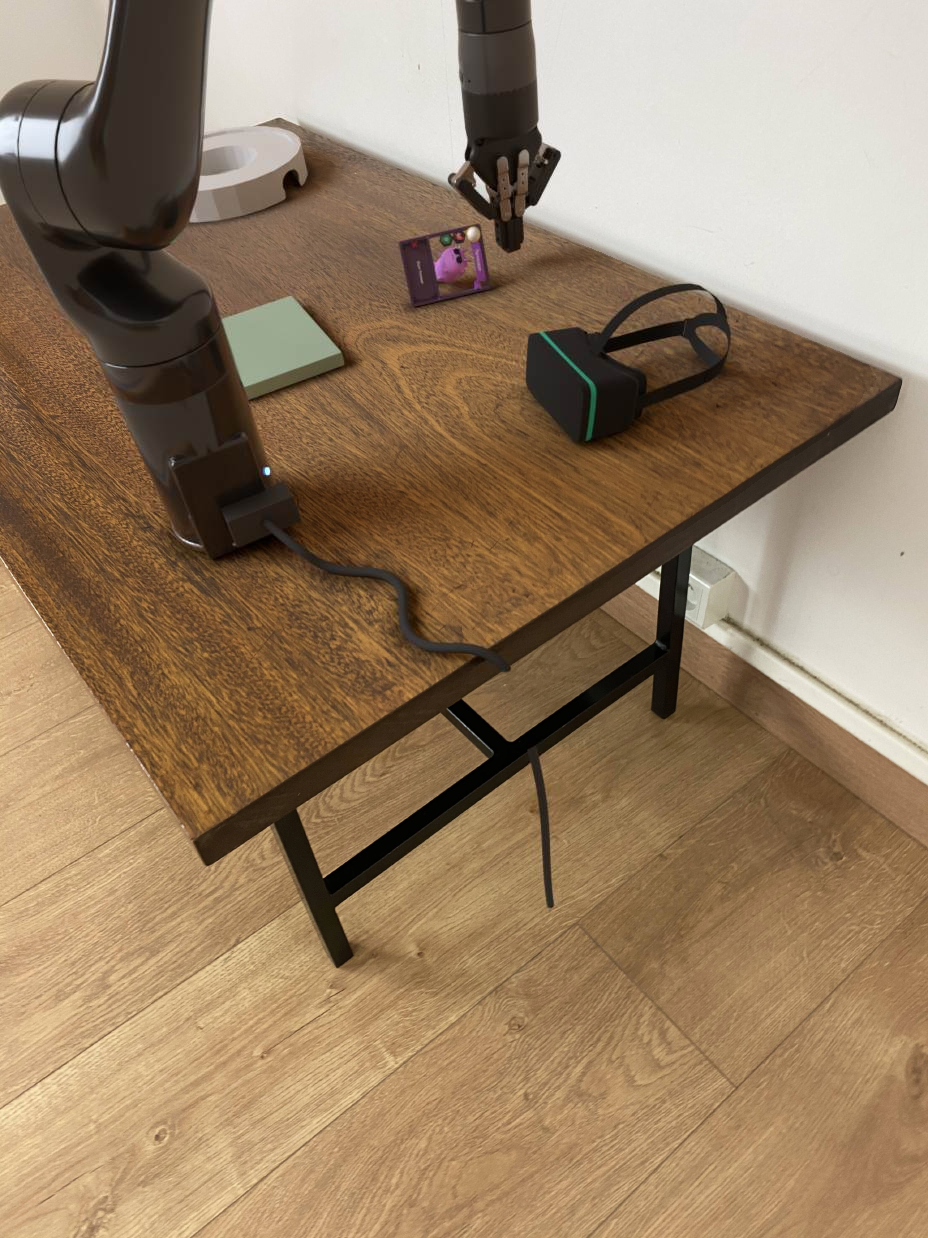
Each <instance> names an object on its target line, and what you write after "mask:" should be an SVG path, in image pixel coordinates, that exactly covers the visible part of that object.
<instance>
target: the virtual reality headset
mask: <svg viewBox="0 0 928 1238" xmlns="http://www.w3.org/2000/svg"><path fill="white" fill-rule="evenodd" d="M687 291H701V292H706V293H709V295H710V296H711V297H712V298H713V300H714V302H715V306H716V312H709V311H708V312H702V313H701V312H700V313H699V314H696V315H695V316H694V317H685V318H684V319H683V320H676V321H670V322H665V323H662V324H658V325H654V326H653V325H652V326H650V327H646V328H642V329H639V330H634V331H631V332H627V333H624V334H621V335H617V336H613V335H614V333H615V332H616V331H617V330H618V328H619V327H620V326H621V325H622V324H623V323H624V322H625V321H626V320H627V319H628V318H629V317H630V316H631V315H632V314H633V313H636V312H637V311H638V310H639V309H641V308H642V307H644V306H646V305H648V304H649V303H651V302H653V301H656V300H659V299H661V298H664V297H666V296H668V295H672V294H676V293H681V292H687ZM701 327H716V328H718V329H719V330H720V331H722V332H723V333H724V334H725V336H726V339H727V350H726V352H725V354H724V356H723V357H721V356H720V355H718V354H717V353H715V352H714V351H713V350H712V349H711V348H710V347H709V346H708V345H707V344H706V343H705V342H704V341H703V340H702V339H701V337H699V336H698V334H697V331H696V330H697V329H698V328H701ZM731 333H732V331H731V328H730V323H729V322H728V316H727V313H726V309H725V306H724V305H723V303H722V301H721V300H720V299H719V298H718V296H716V295H714V294H713V293H712V292H711V291H709V290H708V289H706V288H705V287H703V286H701V284H696V283H695V284H694V283H689V282H688V283H678V284H672V285H671V284H670V285H666V286H663V287H662V286H661V287H659V288H656V289H654V290H651V291H649V292H647V293H644V294H642V295H640V296H638V297H637V298H634V299H633V300H631V301H630V302H628V303H627V304H626V305H625V306H624V307H622V308H621V309H620V310H619V311H618V312H617V313H616V314H615V315H614V316H613V317H612V318H611V319H610V320H609V322H608V323H607V324H606V325H605V327H604V328H603V329H602V330H601V332H600V331H594V333H588V331H586V330H585V329H583V328H581V327H579V326H574V327H567V328H560V329H553V330H547V331H540V332H539V331H538V332H531V333H530V334H529V335H528V339H527V348H526V361H525V384H526V389H527V390H528V391H529V393H530V394H531V395H532V396H533V397H534V398H535V399H536V401H537V402H538V403H539V404H540V406H541V407H543V409H544V410H545V411H546V412H547V414H549V416H550V417H551V419H553V420H554V422H555V423H556V424H557V425H558V426H559V428H561V429H562V431H563V432H564V433H565V434H566V435H567V437H569V439H570V440H572V442H573V443H574V444H580V443H584V442H587V441H591V440H595V439H598V438H603V437H605V436H609V435H613V434H617V433H620V432H624V431H627V430H629V429H630V428H631V426H632V423H633V421H635V420H637V419H639V418H641V416H642V415H643V410H644V409H646V408H649V407H651V406H654V405H657V404H659V403H662V402H664V401H667V400H670V399H672V398H675V397H678V396H680V395H682V394H685V393H688V392H691V391H694V390H696V389H697V388H700V387H702V386H703V385H705V384H708V383H710V382H711V381H712V380H713V379H715V378H716V377H717V376H718V375H720V373H721V372H722V371H723V370H724V366H725V364H726V362H727V359H728V356H729V353H730V347H731V339H732V338H731V337H732V334H731ZM674 337H682V338H683V339H685V340H688V341H689V344H690V346H691V348H692V350H694V352H695V354H696V355H697V356H698V358H699V359H700V360H701V361H702V362H703V363H704V364H705V365H706V366H708V368H706V370H703V371H701V372H698V373H695V374H693V375H690V376H687V377H684V378H681V379H679V380H676V381H673V382H671V383H668V384H665V385H663V386H661V387H658V388H655V389H653V390H650V391H647V388H648V387H647V386H648V376H647V375H646V374H645V373H644V372H643V371H642V370H640V369H637V368H634V367H632V366H630V365H627V364H624V363H623V362H620V361H618V360H617V359H615V358H613V357H611V356H610V355H609V353H614V352H617V351H621V350H625V349H628V348H632V347H635V346H639V345H643V344H646V343H652V342H655V341H656V342H657V341H660V340H665V339H669V338H674Z"/></svg>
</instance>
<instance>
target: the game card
mask: <svg viewBox="0 0 928 1238" xmlns="http://www.w3.org/2000/svg"><path fill="white" fill-rule="evenodd" d="M465 231H466V233H465ZM438 237H439V241H438V242H439V243H440V245H441V246H442V247H443V248H445V247H448V248H447V249H446V250H444V251H443V252H441V253H438V254H437V256H439V258H438V260H437V261H434V258H433V252H432V248H431V247H432V246H431V242H430V239H435V238H438ZM466 239H467V241H468V242H469V244H470V248H471V251H472V256H473V261H474V268H475V274H476V280H474V287H473V288H469V289H466V290H461V291H456V292H452V293H448V294H445V295H441V293H440V289H439V283H438V282H442V283H453V282H455V281H458V280H460V278H462V277H463V276H464V274H465V273H466V271H467V270H468V268H467V266H468V263H473V261H472V259H467V257H466V255H465V253H466V252H468V251H469V248H462V249H461V247H462V245H459V244H463V243H465V240H466ZM453 242H454V243H455V244H456V245H455V246H454V247H450V246H452V243H453ZM457 245H459V246H458V247H457ZM398 248H399V252H400V258H401V262H402V269H403V272H404V276H405V282H406V286H407V291H408V296H409V302H410V305H411V307H414V308H415V307H420V306H423V305H427V304H432V303H436V302H440V301H441V302H442V301H445V300H449V299H453V298H457V297H461V296H465V295H466V296H467V295H470V294H474V293H478V292H483V291H488V290H491V288H492V284H491V280H490V279H491V278H490V274H489V272H490V271H489V266H488V262H487V255H486V249H485V244H484V238H483V232H482V225H481V223H473V224H470V225H465V226H460V227H456V228H452V229H447V230H443V231H439V232H433V233H429V234H425V235H421V236H417V237H416V236H415V237H412V238H408V239H403V240H400V241H398ZM483 281H484V282H485V285H482V282H483Z"/></svg>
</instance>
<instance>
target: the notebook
mask: <svg viewBox="0 0 928 1238" xmlns="http://www.w3.org/2000/svg"><path fill="white" fill-rule="evenodd" d="M222 321H223V324H224V327H225V330H226V333H227V336H228V339H229V342H230V345H231V348H232V351H233V355H234V358H235V361H236V364H237V367H238V370H239V373H240V376H241V379H242V382H243V385H244V388H245V391H246V394H247V397H248V400H249V401H250V400H253V399H256V398H258V397H261V396H264V395H267V394H269V393H272V392H275V391H277V390H280V389H283V388H285V387H288V386H291V385H294V384H297V383H299V382H302V381H305V380H308V379H311V378H313V377H316V376H318V375H321V374H324V373H326V372H327V373H328V372H329V371H332V370H335V369H337V368H340V367H343V366H345V361H344V355H343V352H342V351H341V350H340V348H339V347H338V346H337V345H336V344H335V343H334V342H333V341H332V339H330V337H329V336H328V335H327V334H326V333H325V332H324V330H323V329H322V328H321V327H320V326H319V325H318V323H316V321H315V320H314V319H313V318H312V317H311V316H310V315H309V314H308V312H307V311H306V310H305V309H304V307H302V306H301V305H300V304H299V302H298V301H297V299H296V298H294V297H293V295H289V296H286V297H283V298H280V299H277V300H273V301H271V302H268V303H265V304H262V305H259V306H256V307H253V308H250V309H247V310H245V311H241V312H239V313H235V314H233V315H229V316H227V317H224V318H222Z"/></svg>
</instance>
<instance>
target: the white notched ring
mask: <svg viewBox="0 0 928 1238" xmlns="http://www.w3.org/2000/svg"><path fill="white" fill-rule="evenodd" d="M304 155H305V154H304V151H303V146H302V142H301V140H300V137H299V136H298V135H296V134H295V133H294V132H292V131H290V130H287V129H285V128H281V127H275V126H266V125H244V126H236V127H227V128H226V127H225V128H222V129H217V130H211V131H206V132H205V131H204V138H203V153H202V164H201V174H200V181H199V188H198V193H197V198H196V201H195V205H194V208H193V211H192V214H191V217H190V220H189V223H206V222H207V223H208V222H219V221H224V220H229V219H233V218H239V217H243V216H246V215H249V214H252V213H255V212H260V211H262V210H265V209H268V208H270V207H272V206H274V205H277V204H278V203H280V202H283V201H284V200H285V199H286V197H287V196H286V193H287V192H286V190H285V189H284V184H283V183H284V178H285V176H286V174H287V173H289V172H290V171H291V173H292V174H293V176H294V178H295V179H296V180H297V182H298V183H299V185H300V186H301V187H302V186H303V185H304V184H305V183H306V180H307V178H308V175H309V174H308V168H307V165H306V160H305V156H304Z"/></svg>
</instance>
